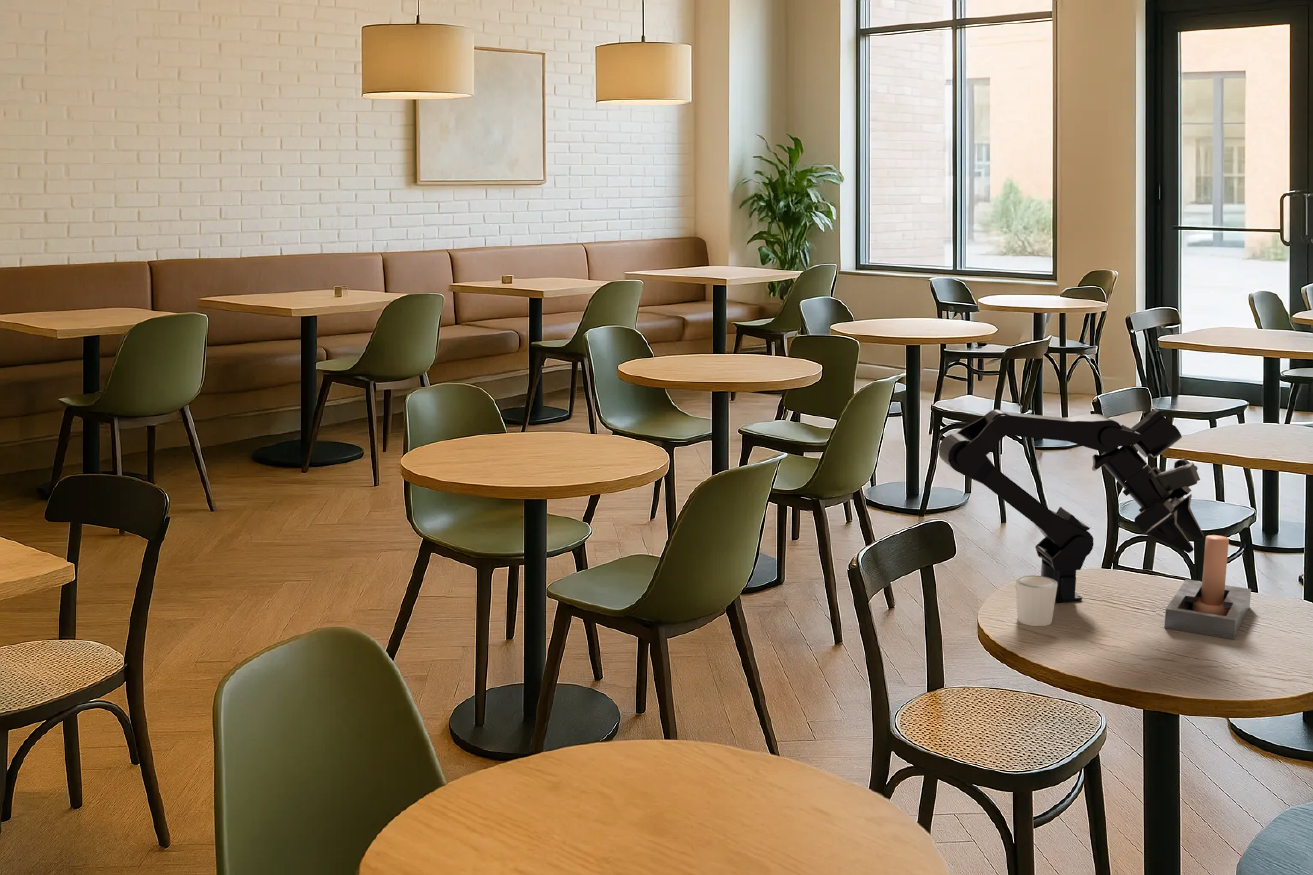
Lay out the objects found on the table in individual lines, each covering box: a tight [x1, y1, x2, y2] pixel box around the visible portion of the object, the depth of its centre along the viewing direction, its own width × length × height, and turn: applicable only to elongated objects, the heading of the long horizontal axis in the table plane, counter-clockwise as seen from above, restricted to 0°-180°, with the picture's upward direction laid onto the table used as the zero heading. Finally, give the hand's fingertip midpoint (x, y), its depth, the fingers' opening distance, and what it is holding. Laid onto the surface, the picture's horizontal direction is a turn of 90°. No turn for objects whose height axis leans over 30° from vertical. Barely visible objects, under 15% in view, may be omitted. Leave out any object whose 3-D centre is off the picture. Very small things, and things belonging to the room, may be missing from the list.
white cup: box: [1015, 575, 1058, 627], centre depth 208 cm, size 7×7×7 cm
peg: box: [1192, 534, 1230, 616], centre depth 211 cm, size 6×6×13 cm
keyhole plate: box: [1164, 579, 1252, 640], centre depth 209 cm, size 18×11×3 cm, turn 147°
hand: (1196, 544), depth 212 cm, fingers open, 9 cm apart
